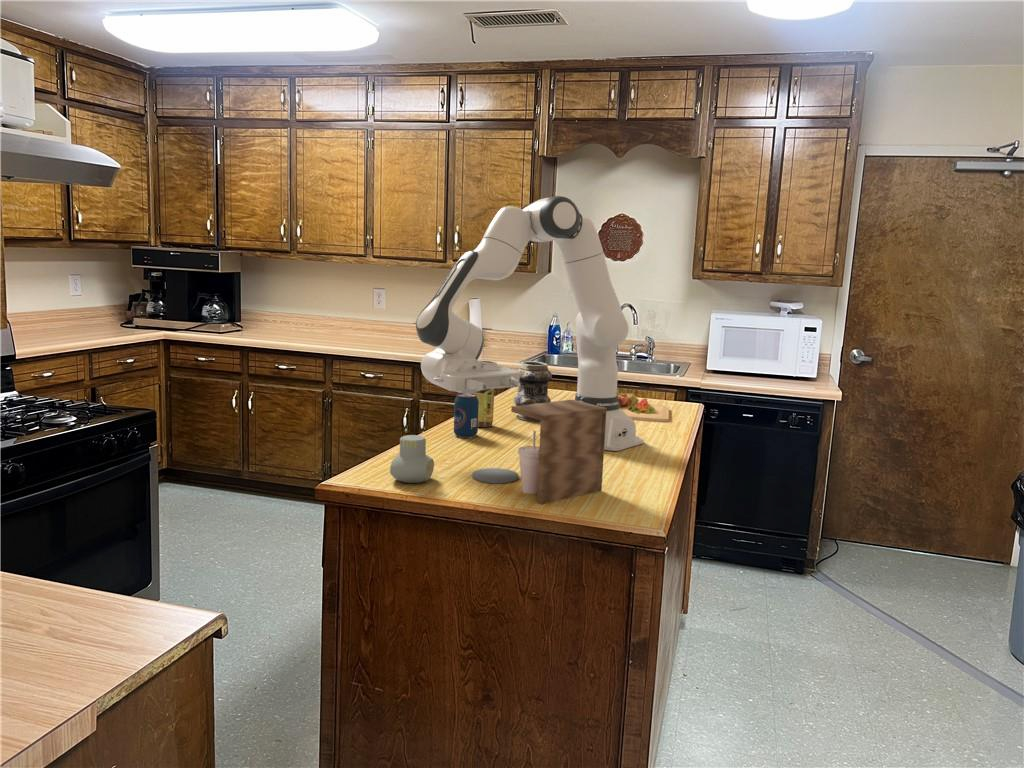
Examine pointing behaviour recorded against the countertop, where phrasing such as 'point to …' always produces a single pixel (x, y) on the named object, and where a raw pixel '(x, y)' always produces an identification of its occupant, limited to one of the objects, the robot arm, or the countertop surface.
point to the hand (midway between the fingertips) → (500, 385)
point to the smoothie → (529, 467)
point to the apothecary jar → (532, 385)
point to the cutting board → (643, 409)
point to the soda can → (466, 415)
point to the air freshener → (412, 460)
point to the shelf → (568, 448)
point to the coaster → (495, 475)
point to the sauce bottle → (485, 407)
